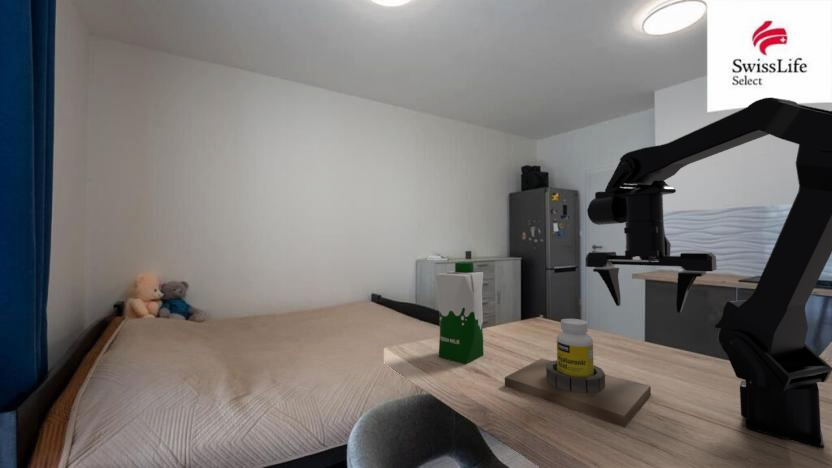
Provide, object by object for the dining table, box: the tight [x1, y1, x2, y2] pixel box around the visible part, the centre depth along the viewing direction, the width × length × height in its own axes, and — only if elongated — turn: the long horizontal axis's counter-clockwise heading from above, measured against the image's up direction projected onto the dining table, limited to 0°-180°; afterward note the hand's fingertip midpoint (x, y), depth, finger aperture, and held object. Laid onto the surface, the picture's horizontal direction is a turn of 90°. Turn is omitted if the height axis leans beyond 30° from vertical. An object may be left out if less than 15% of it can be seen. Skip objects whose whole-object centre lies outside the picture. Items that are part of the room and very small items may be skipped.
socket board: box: [504, 358, 652, 428], centre depth 55 cm, size 18×13×4 cm
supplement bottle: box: [556, 318, 594, 377], centre depth 55 cm, size 5×5×10 cm
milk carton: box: [434, 261, 485, 365], centre depth 73 cm, size 9×9×20 cm
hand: (647, 308), depth 61 cm, fingers open, 9 cm apart
